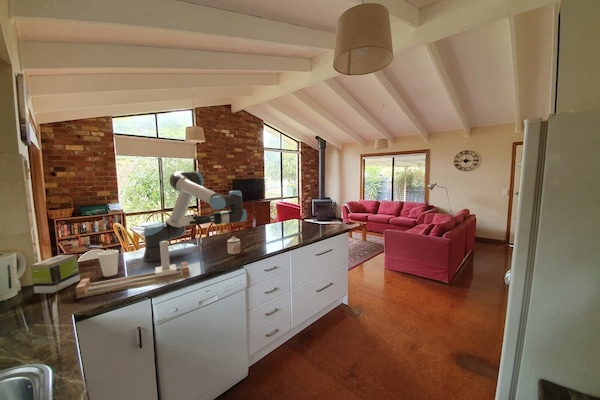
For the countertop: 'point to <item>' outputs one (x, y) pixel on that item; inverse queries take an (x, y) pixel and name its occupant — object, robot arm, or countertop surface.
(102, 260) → the foam cup
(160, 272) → the carriage
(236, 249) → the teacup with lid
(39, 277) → the tea box
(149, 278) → the rail
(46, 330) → the countertop surface
